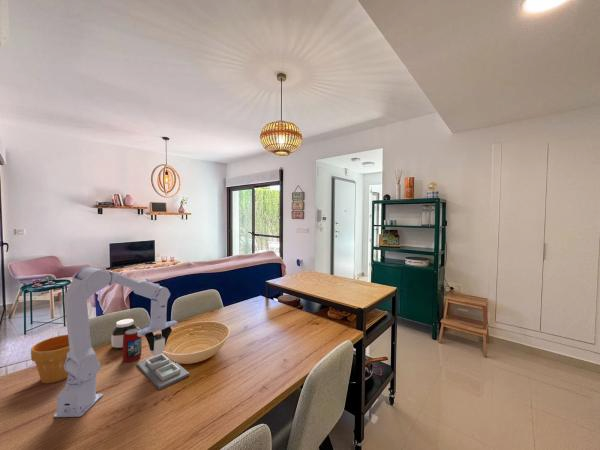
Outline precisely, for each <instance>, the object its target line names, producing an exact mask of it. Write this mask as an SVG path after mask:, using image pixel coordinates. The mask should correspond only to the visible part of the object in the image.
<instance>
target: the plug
mask: <svg viewBox="0 0 600 450" xmlns="http://www.w3.org/2000/svg"><path fill="white" fill-rule="evenodd" d="M154 335H155V338H154V350H153V351H151V350H150V349H149V351H150V352H149V353H150V354H151V355H152V357H155V356H157V355H160V354H163V352H162V351H166V348H165V347H166V346H165V338H164V337H163V336H162V333H161V332H159V333H156V334H154Z"/></svg>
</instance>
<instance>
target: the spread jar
mask: <svg viewBox="0 0 600 450" xmlns="http://www.w3.org/2000/svg"><path fill="white" fill-rule="evenodd" d="M134 328H138V329H140V330H141V328H140V327H139V326H137V325H136V324H135V323H134V319H133V318H124V319H121V320H118V321H116V323H115V327H114V328H113V330H112V331H111V338H110V339H111V346H112V348H113V349H115V350H123V336H124V334H125V332H126V331H127V330H129V329H134Z"/></svg>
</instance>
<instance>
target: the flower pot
mask: <svg viewBox="0 0 600 450" xmlns="http://www.w3.org/2000/svg"><path fill="white" fill-rule="evenodd" d="M69 351H70V348H69V339H68V334H63V335H58V336H53V337H50V338H47V339H44V340H42V341H39V342H37V343H35V344H34V345H33V346H32V347H31V348H30V358H31V361H32V362H34V363H35V365H36V368H37V372H38V376H39V378H40V381H41V383H42V384H53V383H57V382H60V381H63V380H65V379H67V377H68V372H66V371H65V370H64V364H65V362H66V359H67V353H68V352H69Z"/></svg>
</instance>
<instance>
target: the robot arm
mask: <svg viewBox="0 0 600 450" xmlns="http://www.w3.org/2000/svg"><path fill="white" fill-rule="evenodd" d="M71 278H72V280H71V282H70V285H69V286H68V288H67V290H66V291H65V294H64V295H63V303H64V310H65V312H64V313H65V320H66V328H67V330H66V331H67V335H68V339H69V348H70V351H69V352H68V353H67V359H66V362H65V364H64V370H65V371H66V372H68V377H67V378H66V382H65V383H66V384H65V385H64V387H63V388H62V389H61V390H60V392H58V394H57V396H56V413H54V414H53V417H54V418H70V417H71V418H73V417H75V418H78V417H82V416H83V415H84V414H85V413H86V412H87V411H88V410H89V409H91V407H92V406H93V405H95V403H97V402H98V401H99V400H100V399H101V397H103V393H97V374H98V373H99V371H100V370H101V362H100V361H99V359H97V354H96V352H95V350H94V349H93V347H92V340H91V339H92V338H91V331H90V321H89V312H88V310H89V309H88V302H87V301H88V300H89V299H90V298H91V297H92V296H93V295H95V294H96V293H98V292H100V291H101V290H103V289H104V288H107V286H113V285H116V284H117V285H120V286H122V287H127V288H130V289H132V292H133V293H134V294H135V295H139V296H142V297H144V298H147V299H150V321H149V322H150V324H149V326H147V327H144V328H142V329H140V330H139V331H138V334H137V336H139V337H141V336H142V337H143V336H144V337H145V339H146V341H147V343H148V347H149V348H148V349H149V351H150V350H151V351H153V350H154V338H155V334H154V333H155V332H159V331H160V333H161V335H162V336H163V337H164V338H165V347H166V344H167V341H168V339H169V337H170V335H171V333H172V332H173V331H172V330H173V329H172V328H173V327H177V326H178V321H177V320H174V319H173V320H170V321H167V309H168V308H167V307H168V300H169V298H170V297H171V292H170V290H169V289H168V288H167V287H165V286H161V285H160V283H154V282H151V280H150V279H148V278H145V279H144V278H143V279H142V278H141V279H139V280H136V279H134V278H131V277H129V276H127V275H124V274H122V273H119V272H117V271H116V272H115V271H112V270H106V269H102V268H96V267H94V266H85V267H83V268H80V270H78V271H77V272H76V273H74V274H73V275H72V277H71Z"/></svg>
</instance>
